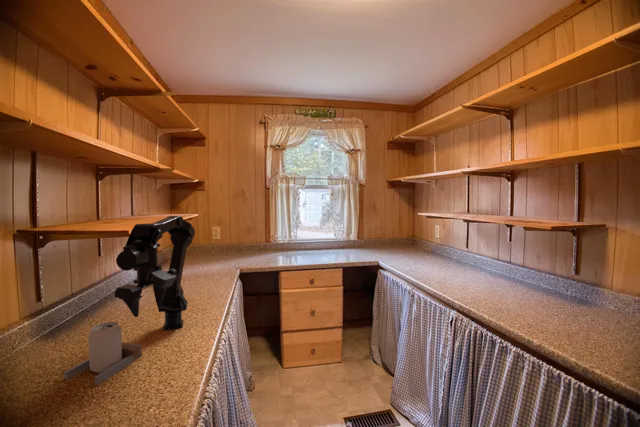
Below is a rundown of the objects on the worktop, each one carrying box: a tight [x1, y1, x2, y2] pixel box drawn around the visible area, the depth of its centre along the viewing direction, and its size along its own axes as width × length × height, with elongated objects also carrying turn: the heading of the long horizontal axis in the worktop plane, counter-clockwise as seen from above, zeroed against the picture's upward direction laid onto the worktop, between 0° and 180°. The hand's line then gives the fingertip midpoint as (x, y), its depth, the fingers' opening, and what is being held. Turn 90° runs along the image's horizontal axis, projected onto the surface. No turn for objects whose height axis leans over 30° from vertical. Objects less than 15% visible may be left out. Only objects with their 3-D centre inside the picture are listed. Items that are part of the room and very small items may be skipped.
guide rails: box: [63, 355, 135, 386], centre depth 80 cm, size 11×11×2 cm
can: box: [87, 321, 123, 374], centre depth 82 cm, size 8×8×12 cm
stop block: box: [122, 342, 143, 362], centre depth 87 cm, size 3×11×4 cm, turn 78°
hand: (148, 311), depth 92 cm, fingers open, 9 cm apart
